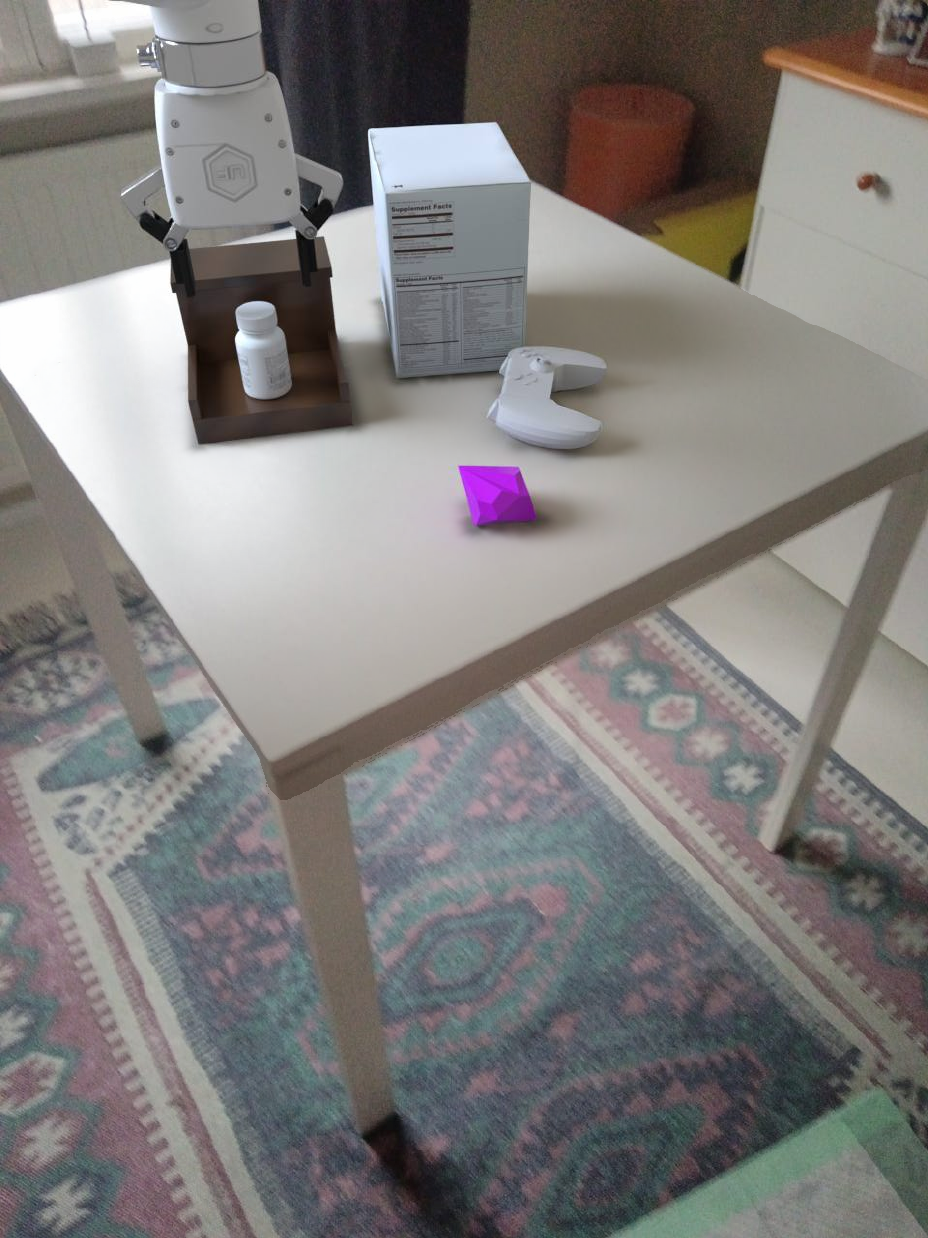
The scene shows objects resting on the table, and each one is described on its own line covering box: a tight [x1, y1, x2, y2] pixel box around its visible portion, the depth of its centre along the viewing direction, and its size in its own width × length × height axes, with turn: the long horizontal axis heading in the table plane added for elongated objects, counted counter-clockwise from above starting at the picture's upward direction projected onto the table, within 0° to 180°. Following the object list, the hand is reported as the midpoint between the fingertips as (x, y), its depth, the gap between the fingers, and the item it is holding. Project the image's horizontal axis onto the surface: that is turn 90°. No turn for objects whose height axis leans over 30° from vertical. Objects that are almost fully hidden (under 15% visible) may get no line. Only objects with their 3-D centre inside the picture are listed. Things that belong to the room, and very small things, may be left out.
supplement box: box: [367, 121, 532, 379], centre depth 96 cm, size 17×13×18 cm
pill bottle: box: [235, 301, 292, 399], centre depth 87 cm, size 4×4×8 cm
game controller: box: [486, 345, 608, 450], centre depth 90 cm, size 14×4×10 cm
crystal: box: [457, 465, 539, 527], centre depth 79 cm, size 5×5×5 cm
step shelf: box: [169, 235, 354, 445], centre depth 91 cm, size 14×16×11 cm
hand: (249, 285), depth 83 cm, fingers open, 9 cm apart
